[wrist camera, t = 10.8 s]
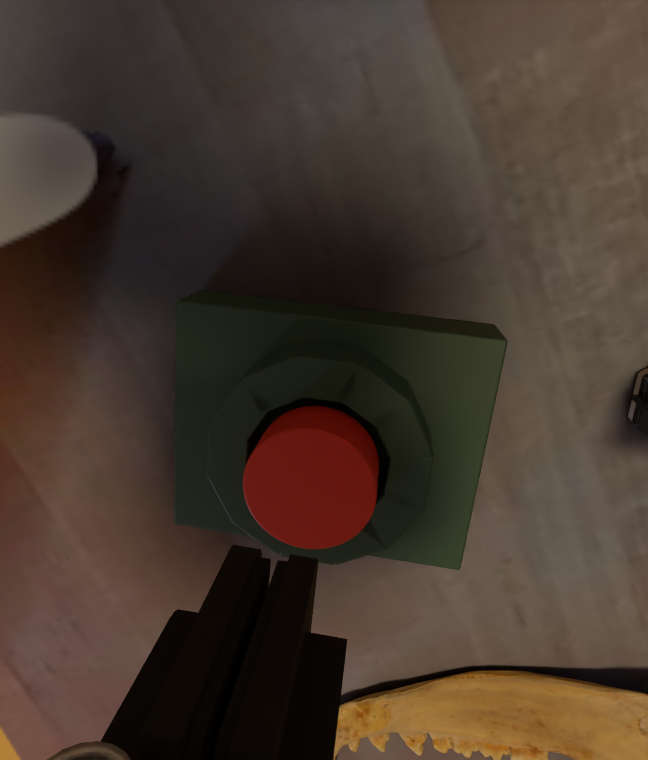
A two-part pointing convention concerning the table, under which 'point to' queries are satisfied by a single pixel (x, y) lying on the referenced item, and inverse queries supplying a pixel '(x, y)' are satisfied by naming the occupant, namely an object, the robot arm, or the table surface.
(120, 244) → the table surface
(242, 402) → the button block
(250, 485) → the button
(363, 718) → the mandible
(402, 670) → the table surface
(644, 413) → the camera
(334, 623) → the table surface
